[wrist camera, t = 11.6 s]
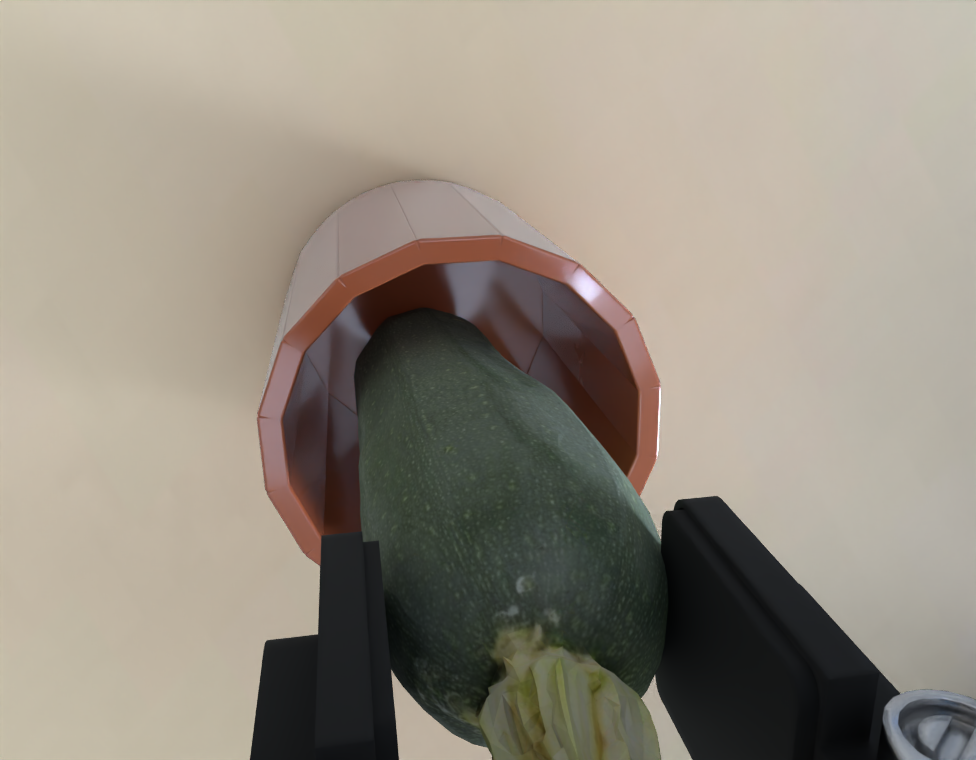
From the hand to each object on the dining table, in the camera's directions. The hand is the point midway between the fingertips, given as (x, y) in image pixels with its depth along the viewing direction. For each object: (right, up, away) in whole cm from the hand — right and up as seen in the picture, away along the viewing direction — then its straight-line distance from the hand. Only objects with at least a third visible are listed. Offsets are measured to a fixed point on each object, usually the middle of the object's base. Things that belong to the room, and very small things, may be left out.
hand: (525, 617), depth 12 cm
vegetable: (-2, +5, +14) cm, 15 cm away
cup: (-3, +5, +15) cm, 16 cm away
